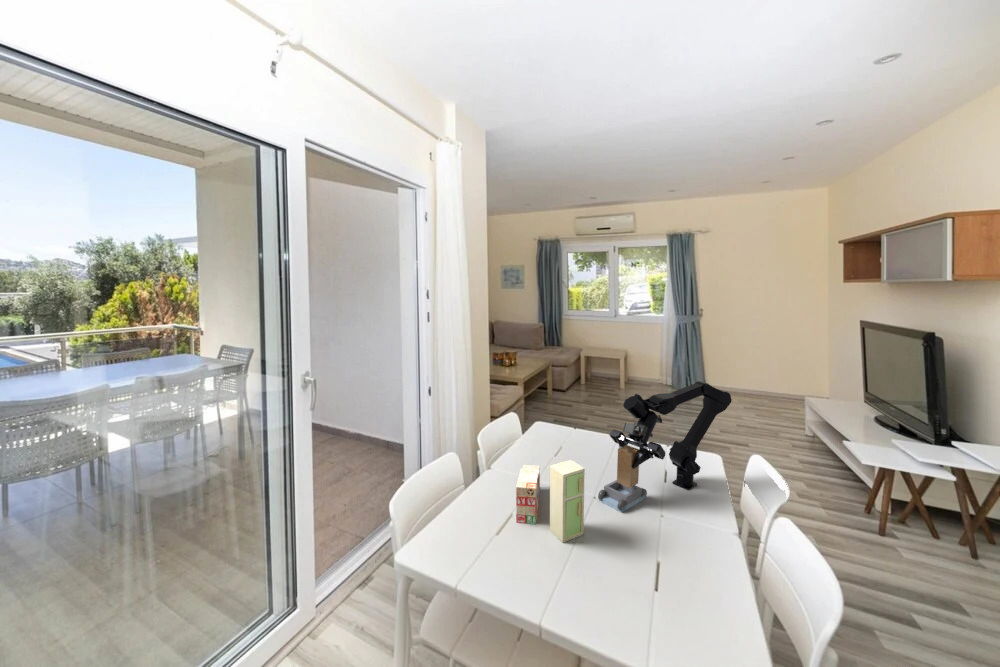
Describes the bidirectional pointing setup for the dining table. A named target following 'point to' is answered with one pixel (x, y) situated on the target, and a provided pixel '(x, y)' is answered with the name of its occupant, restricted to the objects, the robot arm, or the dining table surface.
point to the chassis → (621, 496)
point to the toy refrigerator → (567, 500)
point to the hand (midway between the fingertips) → (625, 465)
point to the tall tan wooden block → (627, 466)
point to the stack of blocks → (527, 494)
